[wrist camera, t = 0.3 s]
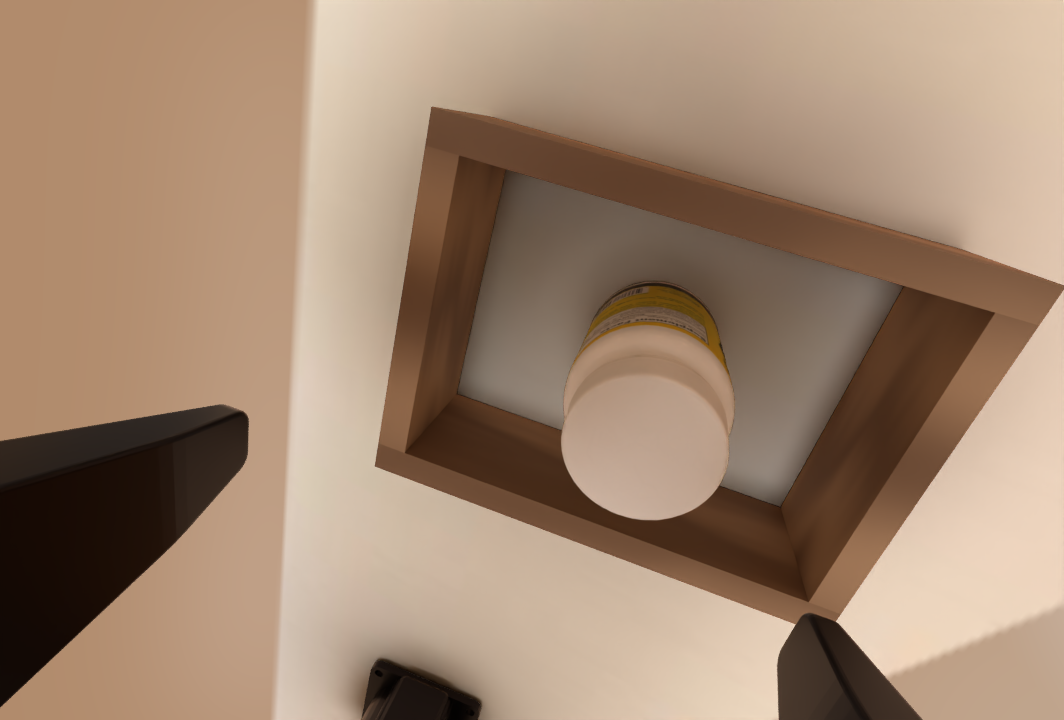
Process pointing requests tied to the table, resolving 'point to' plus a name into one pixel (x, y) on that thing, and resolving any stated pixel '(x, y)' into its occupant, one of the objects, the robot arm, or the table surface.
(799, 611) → the walnut box
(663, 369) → the supplement bottle
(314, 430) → the table surface
